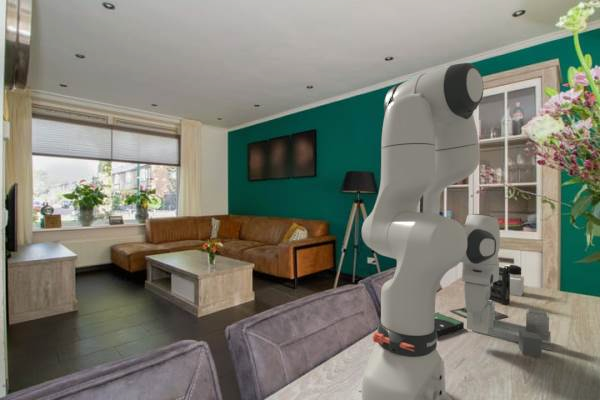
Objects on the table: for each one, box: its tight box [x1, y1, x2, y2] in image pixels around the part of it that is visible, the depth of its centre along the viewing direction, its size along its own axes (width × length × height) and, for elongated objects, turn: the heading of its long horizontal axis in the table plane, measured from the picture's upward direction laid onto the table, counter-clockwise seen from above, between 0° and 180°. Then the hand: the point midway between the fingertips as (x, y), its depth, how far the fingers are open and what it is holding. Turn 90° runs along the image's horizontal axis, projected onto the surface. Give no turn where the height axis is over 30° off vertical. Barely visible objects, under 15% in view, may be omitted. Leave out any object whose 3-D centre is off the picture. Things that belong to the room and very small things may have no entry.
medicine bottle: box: [504, 264, 525, 297], centre depth 131 cm, size 7×7×12 cm
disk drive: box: [434, 312, 465, 339], centre depth 96 cm, size 10×3×15 cm
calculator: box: [449, 307, 509, 320], centre depth 107 cm, size 12×1×15 cm
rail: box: [471, 300, 552, 351], centre depth 90 cm, size 6×19×9 cm, turn 51°
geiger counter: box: [488, 265, 511, 306], centre depth 121 cm, size 10×4×15 cm, turn 21°
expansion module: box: [466, 304, 490, 335], centre depth 84 cm, size 4×5×7 cm
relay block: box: [518, 331, 543, 359], centre depth 81 cm, size 4×4×5 cm
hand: (478, 320), depth 84 cm, fingers closed on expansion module, 4 cm apart
